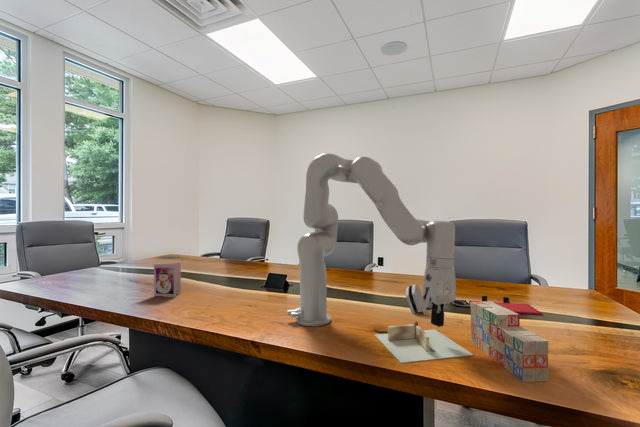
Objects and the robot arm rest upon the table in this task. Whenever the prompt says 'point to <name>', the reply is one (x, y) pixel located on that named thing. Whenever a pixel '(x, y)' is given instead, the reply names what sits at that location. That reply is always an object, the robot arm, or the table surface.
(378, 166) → the robot arm
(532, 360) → the stack of blocks
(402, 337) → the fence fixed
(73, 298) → the table surface
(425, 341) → the panel
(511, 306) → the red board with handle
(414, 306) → the grey piece
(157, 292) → the greeting card
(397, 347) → the card
